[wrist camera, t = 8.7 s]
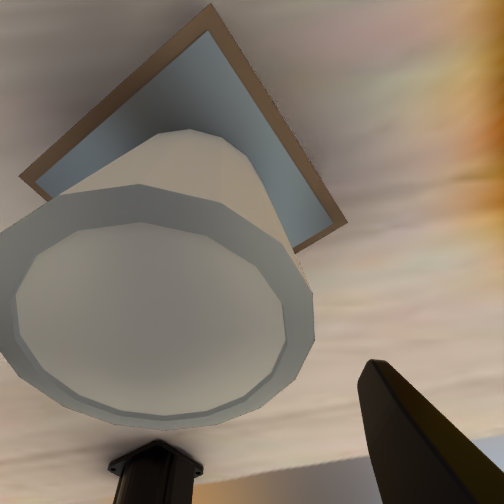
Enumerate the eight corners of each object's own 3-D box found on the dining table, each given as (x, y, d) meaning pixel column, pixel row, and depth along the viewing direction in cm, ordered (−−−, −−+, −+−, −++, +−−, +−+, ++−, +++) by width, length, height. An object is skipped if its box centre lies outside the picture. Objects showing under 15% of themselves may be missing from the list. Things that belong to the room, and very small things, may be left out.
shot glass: (60, 199, 13) (-92, 337, 7) (188, 60, 11) (126, 87, 5) (194, 303, 16) (168, 463, 10) (316, 210, 13) (379, 346, 8)
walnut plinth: (192, 264, 21) (181, 325, 16) (72, 141, 17) (13, 178, 12) (321, 180, 18) (350, 225, 14) (217, 13, 14) (210, 1, 10)
